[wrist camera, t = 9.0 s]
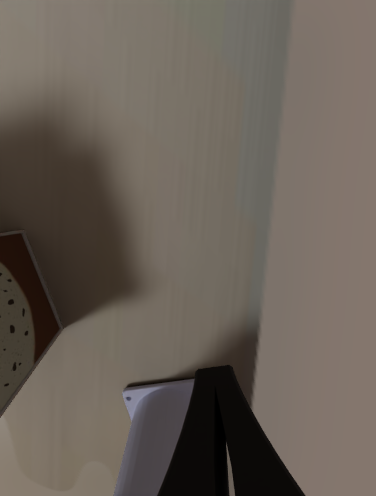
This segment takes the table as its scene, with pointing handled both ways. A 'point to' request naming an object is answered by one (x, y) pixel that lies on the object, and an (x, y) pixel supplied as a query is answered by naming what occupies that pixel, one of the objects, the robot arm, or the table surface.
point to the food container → (22, 315)
